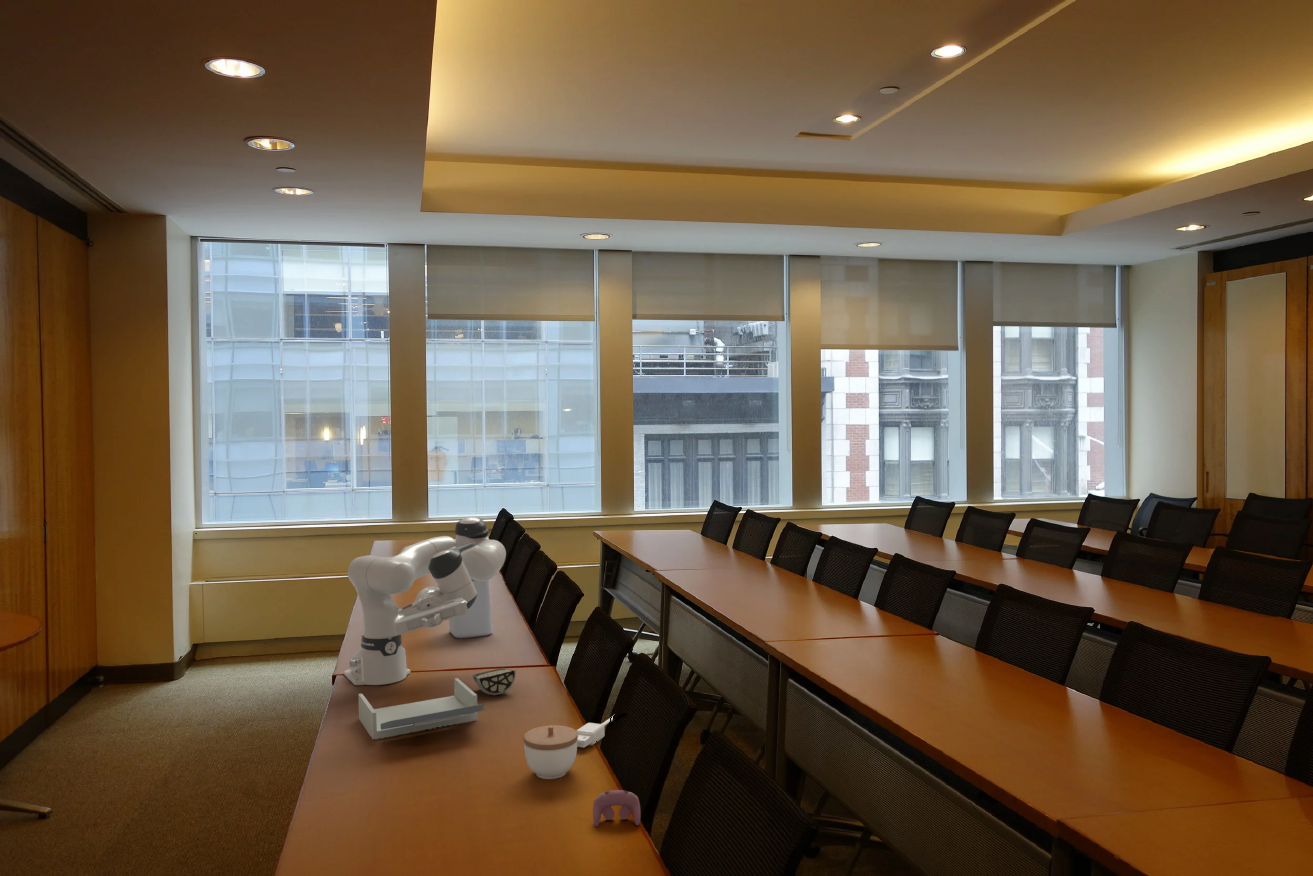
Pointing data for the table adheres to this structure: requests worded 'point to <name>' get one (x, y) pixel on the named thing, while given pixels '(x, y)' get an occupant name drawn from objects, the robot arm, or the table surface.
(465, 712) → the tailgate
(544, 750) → the lidded bowl
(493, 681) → the food container
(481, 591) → the plastic bottle
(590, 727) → the charging cable
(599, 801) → the video game controller
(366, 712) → the tray
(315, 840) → the table surface
